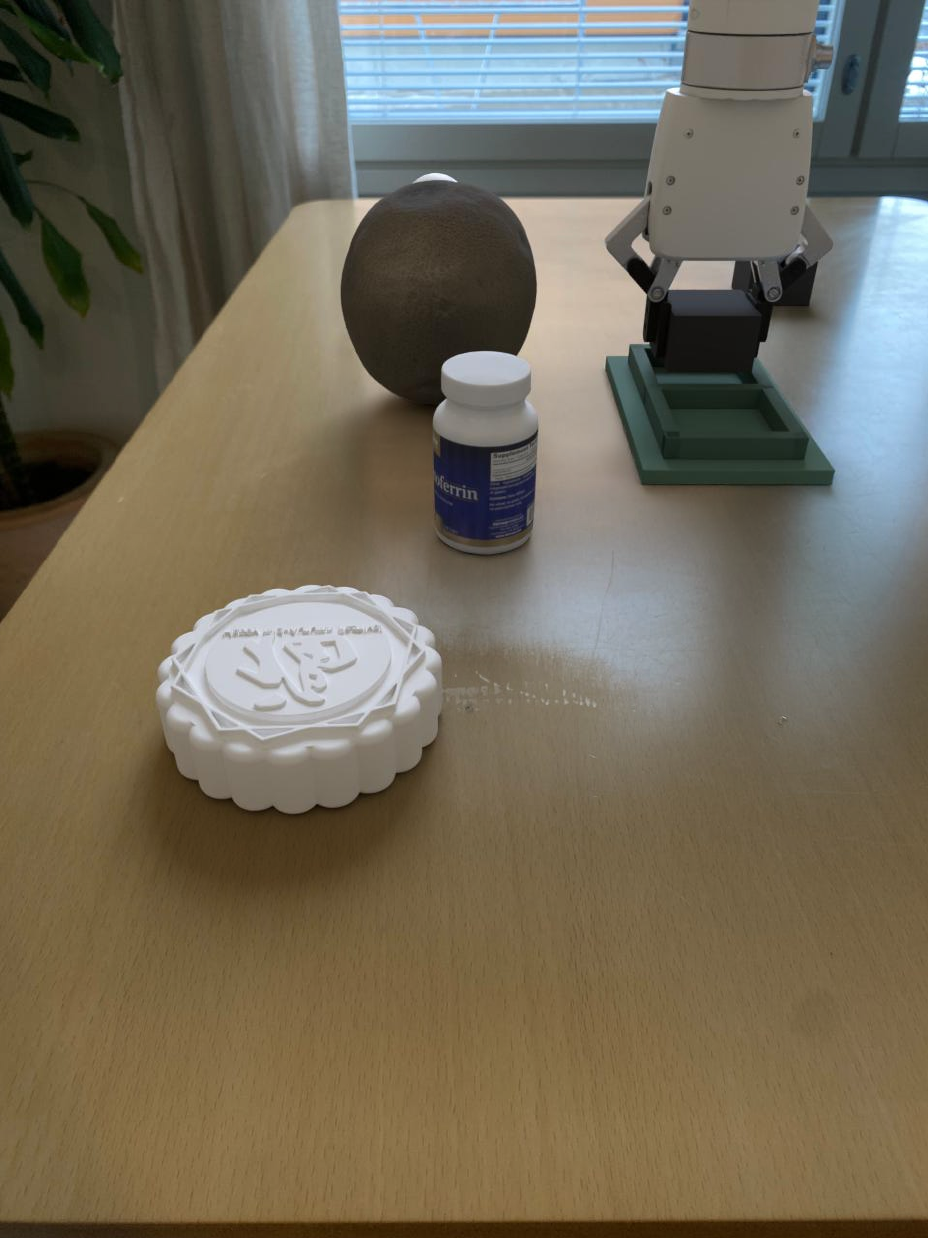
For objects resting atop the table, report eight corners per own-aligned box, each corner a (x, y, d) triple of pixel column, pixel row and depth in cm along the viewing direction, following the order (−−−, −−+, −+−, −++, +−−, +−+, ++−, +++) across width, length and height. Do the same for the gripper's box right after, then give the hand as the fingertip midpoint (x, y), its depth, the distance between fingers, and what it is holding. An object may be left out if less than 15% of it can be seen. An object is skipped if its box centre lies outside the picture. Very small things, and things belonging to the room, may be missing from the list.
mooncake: (138, 824, 37) (119, 757, 34) (194, 638, 46) (181, 577, 44) (447, 812, 37) (446, 745, 35) (438, 631, 47) (437, 570, 45)
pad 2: (791, 286, 93) (800, 244, 91) (809, 305, 89) (818, 261, 86) (731, 286, 93) (737, 244, 91) (745, 305, 89) (752, 261, 86)
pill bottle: (415, 526, 55) (409, 361, 49) (492, 499, 58) (495, 339, 52) (474, 569, 51) (475, 396, 46) (553, 537, 54) (564, 370, 48)
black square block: (733, 342, 71) (742, 289, 69) (752, 372, 67) (762, 315, 64) (653, 342, 71) (660, 289, 69) (667, 372, 67) (674, 315, 64)
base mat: (754, 367, 76) (760, 337, 74) (831, 484, 59) (841, 448, 58) (605, 367, 76) (607, 336, 74) (641, 484, 59) (645, 448, 58)
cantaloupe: (305, 406, 69) (282, 186, 61) (432, 354, 78) (428, 155, 69) (451, 462, 62) (449, 220, 53) (573, 397, 71) (589, 181, 62)
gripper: (863, 59, 61) (805, 334, 72) (597, 60, 61) (578, 334, 72) (906, 72, 55) (836, 370, 66) (611, 73, 55) (588, 370, 66)
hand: (702, 348), depth 69 cm, fingers closed on black square block, 5 cm apart
